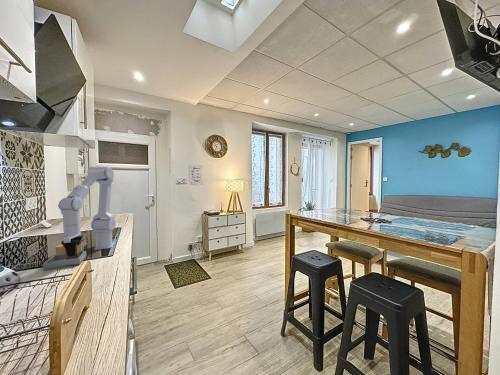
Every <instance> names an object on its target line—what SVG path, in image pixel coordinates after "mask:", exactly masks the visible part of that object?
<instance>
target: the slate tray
mask: <svg viewBox="0 0 500 375" xmlns="http://www.w3.org/2000/svg"><path fill="white" fill-rule="evenodd" d="M86 258H87V250H82V251H81V250H80V256H79V257H78V258H76V259H69V260H66V254H58V255H56V254H54V255H52V256H51V257H49V258H48V259H47V260H46V261H45V262H43V263H42V271H43V272H44V271H50V270H57V269H63V268H69V267H71V268H72V267H76V266H77V267H78V266H81V264H83V262H84V261H85V259H86ZM83 260H84V261H83ZM82 261H83V262H82Z"/></svg>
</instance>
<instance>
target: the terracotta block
mask: <svg viewBox="0 0 500 375" xmlns="http://www.w3.org/2000/svg"><path fill="white" fill-rule="evenodd" d="M58 254H66V250H65V247H64V246H63V245H62V244H58V245H57V246H55V255H58Z"/></svg>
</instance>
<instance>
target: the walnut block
mask: <svg viewBox="0 0 500 375" xmlns="http://www.w3.org/2000/svg"><path fill="white" fill-rule="evenodd" d="M80 245H81V244H80ZM80 245H77V246H76V252H75V256H69V257H68V254H67V252H66V260H69V259H76V258H78V257H79V256H80V252H81V249H80V248H81V246H80ZM65 250H66V249H65Z"/></svg>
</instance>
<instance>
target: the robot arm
mask: <svg viewBox="0 0 500 375" xmlns="http://www.w3.org/2000/svg"><path fill="white" fill-rule="evenodd" d="M86 173H87V175H86V176H85V178H84V180H83V181H82V182H81V184H78V185H76V186H74V188H73V189H72V191H71V192H70V193H69V194H68V195H67V197H64V198H62V199H61V200H60V201H59V202H58V205H57V208H58V209H59V210H60V214H61V215H62V226H63V227H62V229H63V234H60V238H63V240H62V241H61V242H60V243H61V244H60V245H63V246H64V247H65V249H66V252H67V254H68V257H69V256H75V252H76V246H77V245H81V242H82V239H83V238H84V237H83V235H82V232H81V218H80V217H81V216H80V210H81V209H82V208H83V204H84V200H85V199H86V197H87V196H88V195H89V193H90V190H89V189H90V188H91V186H92V185H93V184H95V183H98V185H99V195H98V196H99V199H98V211H97V213H96V215H94V216H93V217H92V221H91V225H90V227H91V229H92V230H93V233H95V248H93V250H94V251H97V250H98V251H99V250H104V249H105V250H106V249H112V248H113V246H114V245H115V242H114V241H113V231H114V229H115V227H116V219H115V216H114V215H113V214H111V213H110V212H111V211H110V210H111V198H112V197H111V196H112V185H113V182H114V174H115V173H114V170H113V168H112V167H111V166H109V165H108V166H90V167H89V168H88V169H87V172H86Z"/></svg>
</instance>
